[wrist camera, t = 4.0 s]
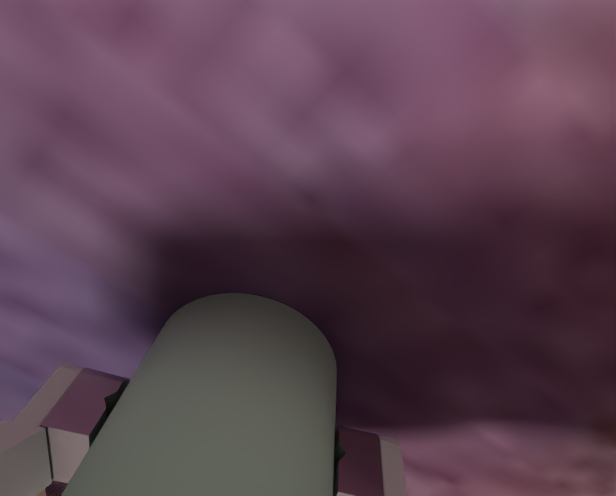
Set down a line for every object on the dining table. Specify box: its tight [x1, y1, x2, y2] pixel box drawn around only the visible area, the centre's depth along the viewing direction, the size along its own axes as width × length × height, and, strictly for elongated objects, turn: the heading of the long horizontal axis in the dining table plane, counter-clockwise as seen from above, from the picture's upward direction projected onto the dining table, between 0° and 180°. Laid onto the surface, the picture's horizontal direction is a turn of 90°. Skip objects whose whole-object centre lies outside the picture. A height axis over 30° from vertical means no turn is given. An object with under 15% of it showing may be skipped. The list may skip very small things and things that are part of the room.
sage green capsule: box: [61, 293, 337, 496], centre depth 9 cm, size 5×5×5 cm
